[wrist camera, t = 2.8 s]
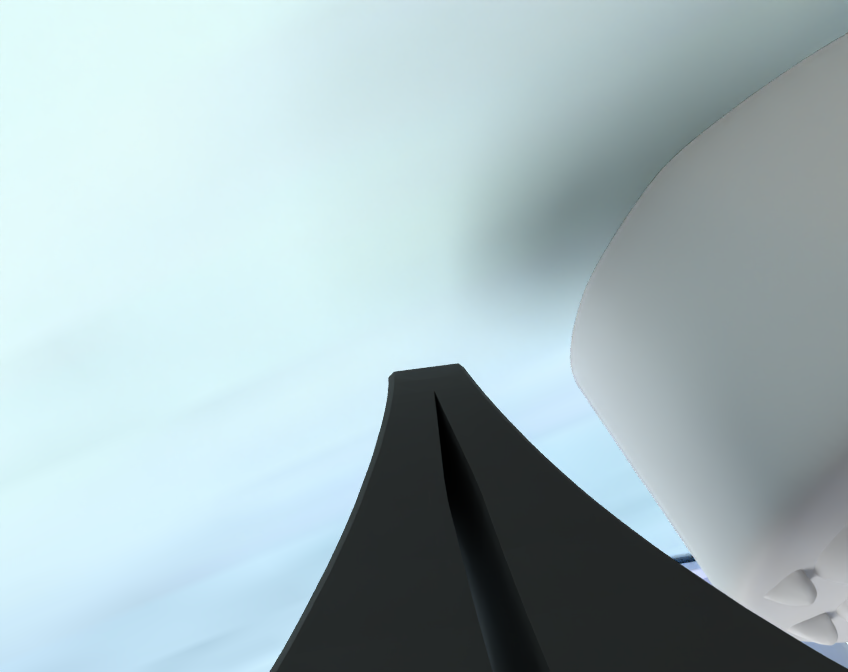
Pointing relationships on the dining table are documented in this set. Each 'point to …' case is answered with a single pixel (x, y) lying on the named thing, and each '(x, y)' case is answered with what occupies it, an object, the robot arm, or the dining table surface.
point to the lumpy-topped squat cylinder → (740, 347)
